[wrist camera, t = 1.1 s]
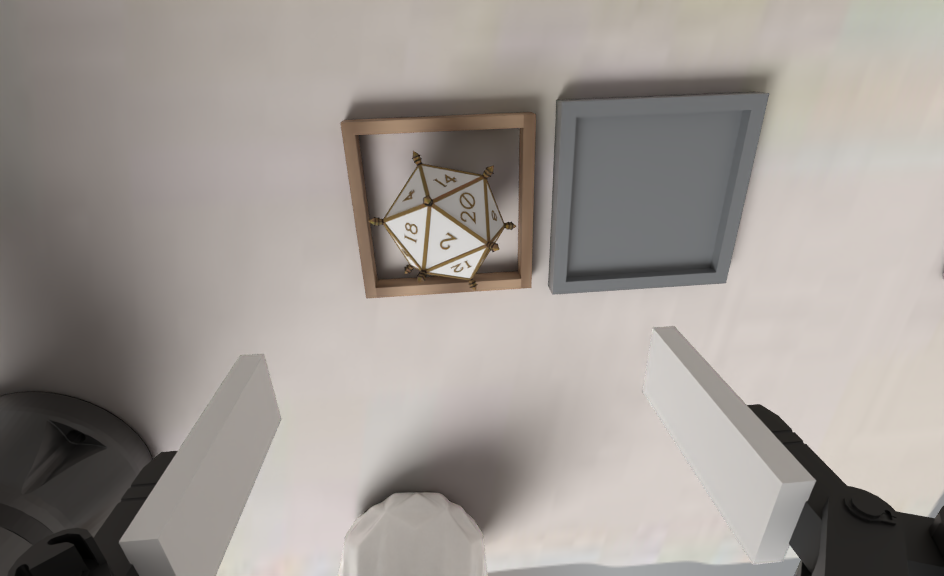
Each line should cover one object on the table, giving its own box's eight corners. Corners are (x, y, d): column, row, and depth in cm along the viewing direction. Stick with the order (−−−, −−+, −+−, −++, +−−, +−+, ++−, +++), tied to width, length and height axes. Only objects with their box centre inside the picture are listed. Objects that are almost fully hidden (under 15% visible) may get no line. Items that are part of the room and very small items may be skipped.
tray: (548, 286, 38) (552, 294, 36) (556, 100, 32) (562, 101, 30) (715, 275, 39) (725, 283, 37) (755, 92, 32) (769, 93, 31)
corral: (368, 289, 37) (366, 298, 35) (344, 119, 31) (340, 122, 30) (527, 279, 37) (531, 287, 36) (531, 112, 32) (536, 114, 30)
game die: (424, 177, 37) (377, 111, 27) (529, 197, 35) (519, 135, 25) (393, 286, 36) (333, 258, 26) (500, 312, 34) (478, 293, 24)
